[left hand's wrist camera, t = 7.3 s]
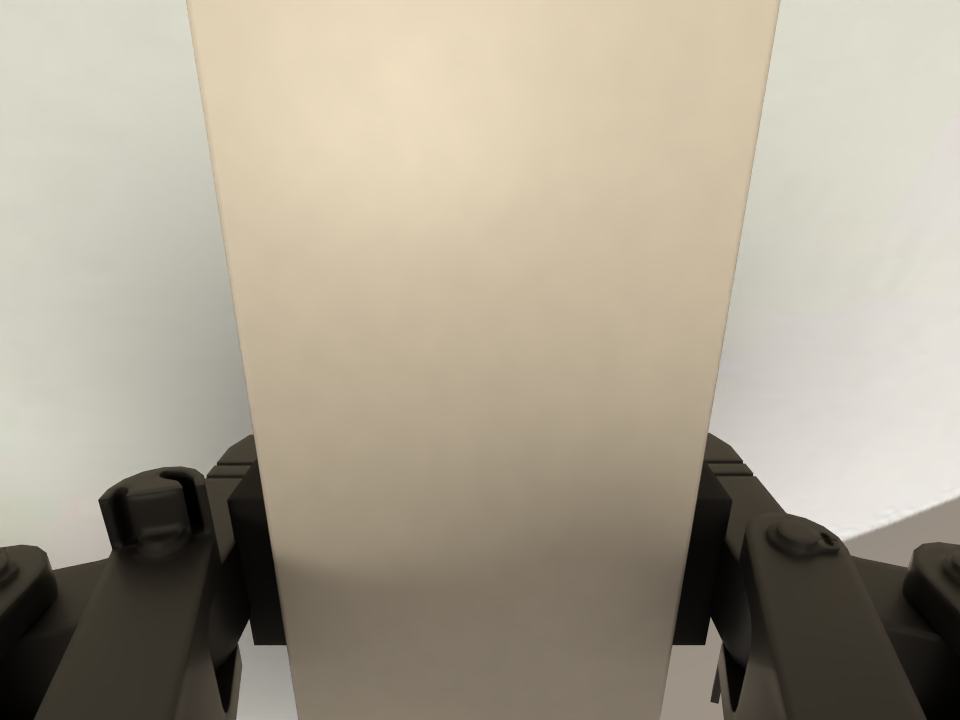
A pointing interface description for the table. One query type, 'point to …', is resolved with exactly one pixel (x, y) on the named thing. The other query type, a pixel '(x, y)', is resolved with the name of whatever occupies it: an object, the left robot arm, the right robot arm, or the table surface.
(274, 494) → the bar
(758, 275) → the table surface
